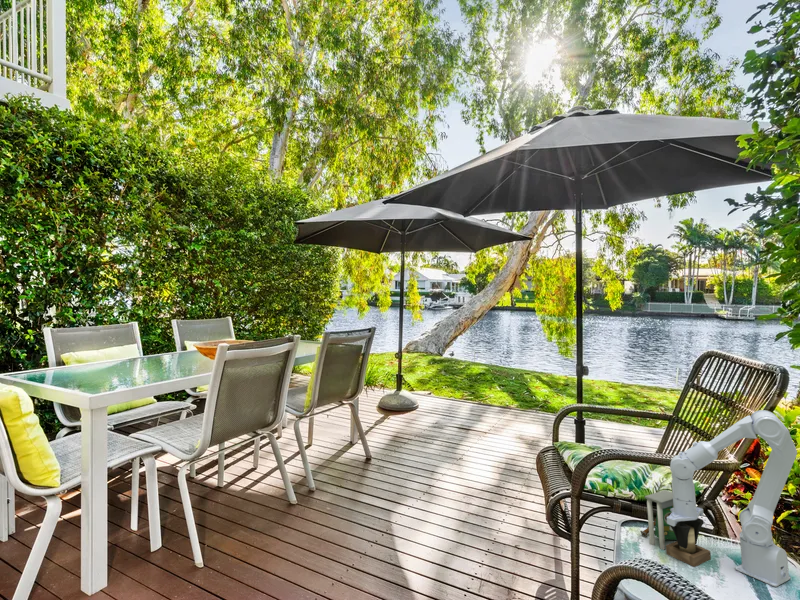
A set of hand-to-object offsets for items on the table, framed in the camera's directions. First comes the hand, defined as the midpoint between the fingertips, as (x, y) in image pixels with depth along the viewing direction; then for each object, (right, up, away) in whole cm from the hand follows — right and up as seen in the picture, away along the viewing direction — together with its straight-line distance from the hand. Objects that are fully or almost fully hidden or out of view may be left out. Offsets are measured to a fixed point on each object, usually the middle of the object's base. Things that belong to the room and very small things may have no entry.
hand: (687, 544), depth 127 cm
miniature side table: (-1, -4, +8) cm, 9 cm away
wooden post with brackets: (-3, -5, +14) cm, 15 cm away
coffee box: (+1, -4, +10) cm, 11 cm away
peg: (0, -2, 0) cm, 2 cm away
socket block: (0, -3, 0) cm, 3 cm away
